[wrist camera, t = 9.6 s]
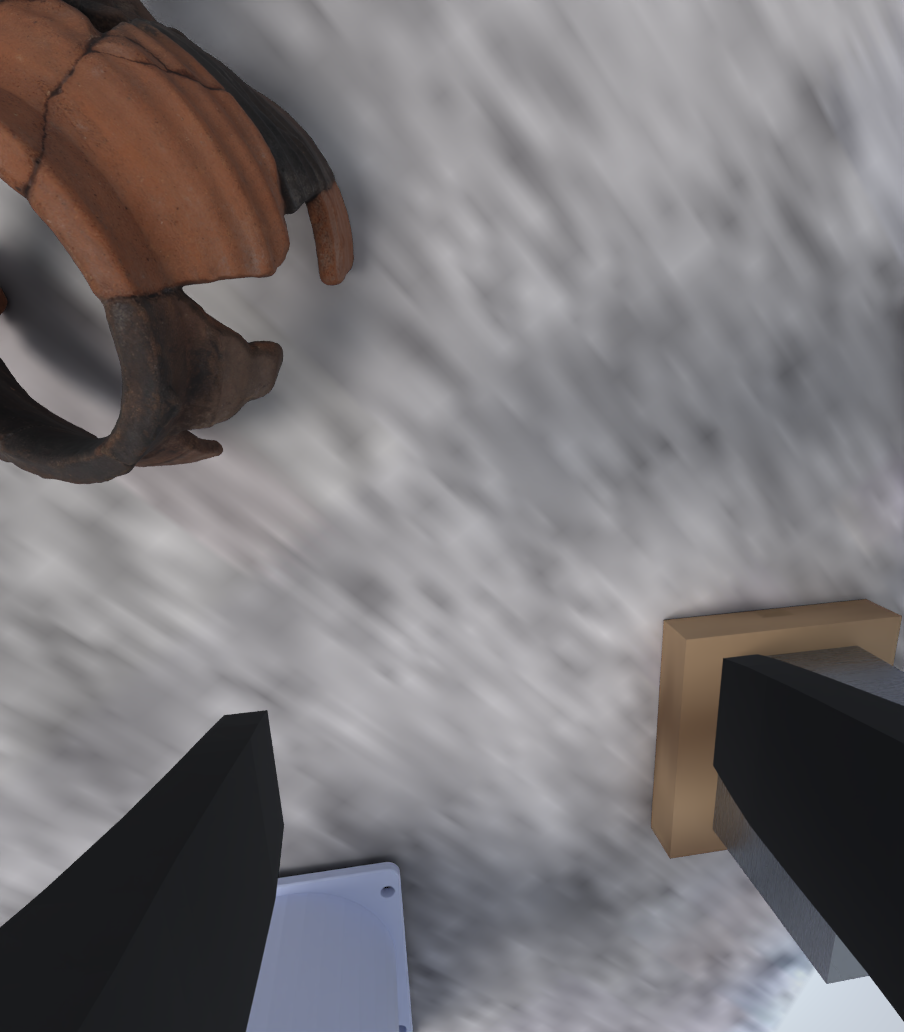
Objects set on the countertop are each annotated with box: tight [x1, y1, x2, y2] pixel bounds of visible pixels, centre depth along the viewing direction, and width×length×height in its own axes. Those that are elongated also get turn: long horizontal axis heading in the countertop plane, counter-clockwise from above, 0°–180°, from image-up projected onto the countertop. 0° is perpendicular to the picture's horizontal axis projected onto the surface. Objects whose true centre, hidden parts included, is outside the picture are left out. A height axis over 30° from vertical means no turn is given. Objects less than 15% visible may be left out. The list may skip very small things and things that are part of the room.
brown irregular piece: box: [0, 0, 354, 484], centre depth 13 cm, size 12×10×8 cm
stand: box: [651, 599, 902, 859], centre depth 21 cm, size 9×8×2 cm
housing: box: [712, 646, 904, 984], centre depth 18 cm, size 7×5×6 cm
